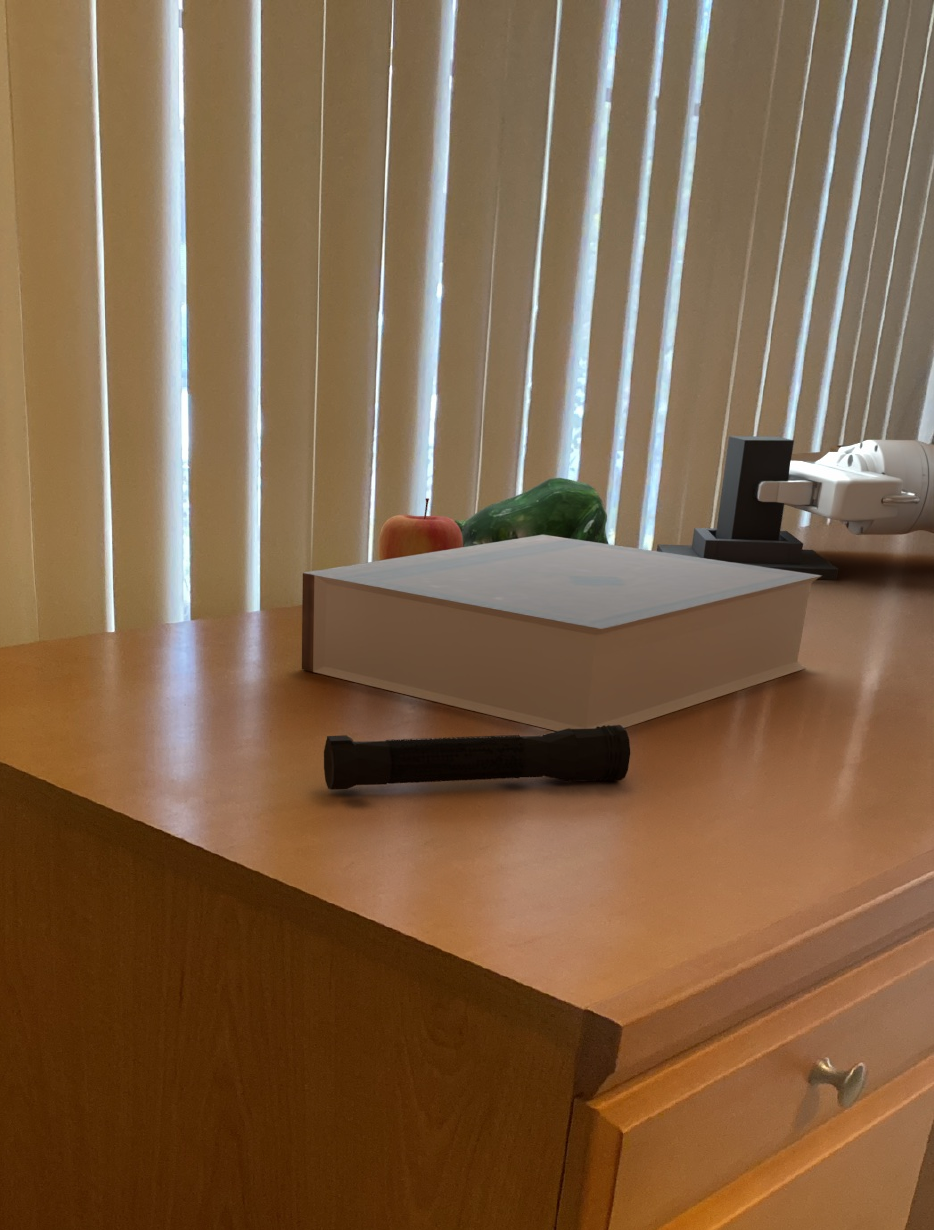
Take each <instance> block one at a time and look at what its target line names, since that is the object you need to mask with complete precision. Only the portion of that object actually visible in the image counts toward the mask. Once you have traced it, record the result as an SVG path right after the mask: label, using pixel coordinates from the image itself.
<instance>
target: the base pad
mask: <svg viewBox="0 0 934 1230" xmlns="http://www.w3.org/2000/svg"><path fill="white" fill-rule="evenodd" d="M716 530H717V528H714V527H713V528H711V527H710V528H709V527H707V528H706V527H694V528H693V536H692V542H691V545H688V544H687V545H686V544H685V545H684V544H660V543H659V544H657V545H656V551H658V552H665V553H671V554H678V555H685V556H692V557H699V558H706V559H712V560H719V561H726V562H733V563H740V564H747V565H753V566H760V567H767V568H774V569H781V570H788V571H794V572H801V573H808V574H815V575H822V576H821V577H819V578H817V579H816V580H829V581H830V580H833V581H835V580H838V579H837V578H838V575H839V574H838V573H839V568H838V567H836V566H835V565H834V564H832V563H831V562H829V561H828V560H827V559H826V558H825V557H823V556H822V555H820V554H819V553H817V552H816V551H815V550H814V549H803V548H804V543H803V542H802V541H801V540H799V539H798V538H797V537H796V536H794V535H793V534H791V532H789V531H787V530H780V535H779V541H770V540H741V539H716V538H715V537H716Z"/></svg>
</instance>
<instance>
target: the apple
mask: <svg viewBox="0 0 934 1230" xmlns="http://www.w3.org/2000/svg"><path fill="white" fill-rule="evenodd" d="M429 501H430V498H428V497H426V498H425V509H424V515H412V514H398V515H394V516H392V517H390V518H388V519H387V520H386V521H385V522H384V523H383V525H382V526H381V529H380V532H379V536H378V544H377V545H378V558H379V561H380V560H387V559H393V558H399V557H406V556H412V555H418V554H424V553H431V552H437V551H443V550H449V549H456V548H462V547H463V538H462V533H461V530H460V528H459V526H458V525H457V524H456V523H455V522H454V521H455V520H453V519H451V518H449V517H447V516H438V515H427V514H428V513H427V512H428V505H429Z"/></svg>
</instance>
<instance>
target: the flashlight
mask: <svg viewBox="0 0 934 1230" xmlns="http://www.w3.org/2000/svg"><path fill="white" fill-rule="evenodd" d="M630 742H631V741H630V737H629V734H628V730H626V729H625V728H623V727H622V726H621V725H612V726H610V725H608V726H605V725H604V726H602V727H598V726H597V727H596V728H593V729H570V728H568V729H564V730H561V731H554V732H549V733H546V734H542V735H522V736H521V735H519V734H505V735H503V734H501V735H481V736H480V735H479V736H474V735H473V736H455V737H453V736H449V737H446V736H445V737H438V738H437V737H432V738H431V737H430V738H429V737H423V738H422V737H421V738H419V737H418V738H417V737H416V738H415V739H414V738H409V739H408V738H402V739H401V738H400V739H399V738H398V739H396V738H395V739H394V738H393V739H385V740H370V741H364V740H363V741H354V739H353V738H352V737H350V736H349V735H347V734H346V735H345V734H344V735H343V734H342V735H327V736H326V740H325V745H324V748H323V773H324V780H325V784H326V787H327V789H328V790H332V791H333V790H348V789H350V788H353V787H356V786H378V785H379V786H381V785H383V786H384V785H385V786H386V785H387V784H388V785H391V784H392V785H393V784H415V783H416V784H417V783H436V782H437V783H438V782H439V783H440V782H459V781H460V782H465V781H483V780H484V781H486V780H491V781H492V780H495V781H496V780H505V779H508V780H511V779H522V778H523V779H525V778H543V777H545V778H550V779H555V780H561V781H565V782H582V781H583V782H584V781H585V782H587V781H596V782H600V781H603V782H605V781H607V780H609V781H614V782H615V781H622V780H624V779H625V778H626V776H627V774H628V771H629V767H630V761H631V760H630V759H631V753H632V751H631V743H630Z"/></svg>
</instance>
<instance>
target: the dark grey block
mask: <svg viewBox="0 0 934 1230" xmlns="http://www.w3.org/2000/svg"><path fill="white" fill-rule="evenodd" d="M727 441H728V442H727V448H726V456H725V463H724V469H723V470H724V471H723V478H722V485H721V492H720V493H721V494H720V502H719V507H718V515H717V522H716V529H717V530H716V537H715V538H716V539H741V540H770V541H779V535H780V531H781V530H782V521H783V515H784V509H785V505H784V503H779V502H761V501H758V500H756V499H755V498H754V491H755V484H756V483H757V482H758V481H788V477H789V470H790V464H791V457H792V454H793V451H794V443H795V440H794V439H790V438H785V437H781V436H777V435H776V436H769V435H767V436H763V435H761V436H760V435H759V436H757V435H755V436H750V435H747V436H746V435H729V436H728V440H727Z"/></svg>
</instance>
